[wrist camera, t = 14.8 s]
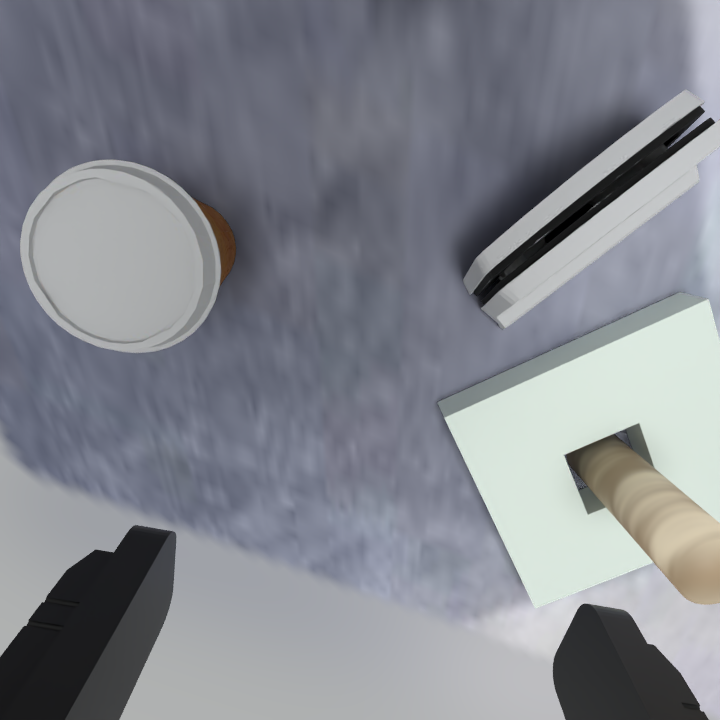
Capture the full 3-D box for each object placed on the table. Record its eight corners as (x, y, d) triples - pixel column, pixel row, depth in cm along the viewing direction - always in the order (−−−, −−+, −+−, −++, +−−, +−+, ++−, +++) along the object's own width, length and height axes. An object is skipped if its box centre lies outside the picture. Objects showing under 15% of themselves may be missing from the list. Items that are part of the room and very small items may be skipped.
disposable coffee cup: (285, 244, 34) (254, 262, 23) (202, 337, 36) (134, 396, 25) (180, 143, 32) (86, 107, 21) (97, 247, 34) (-31, 266, 23)
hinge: (498, 333, 37) (514, 329, 27) (459, 285, 37) (461, 264, 27) (692, 185, 34) (790, 121, 24) (648, 136, 34) (725, 52, 24)
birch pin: (559, 440, 40) (667, 558, 26) (610, 418, 39) (746, 527, 26) (576, 482, 41) (687, 615, 27) (625, 461, 40) (763, 586, 27)
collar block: (437, 402, 38) (444, 417, 35) (679, 292, 36) (708, 299, 33) (523, 582, 44) (535, 608, 41) (737, 497, 42) (766, 518, 39)
